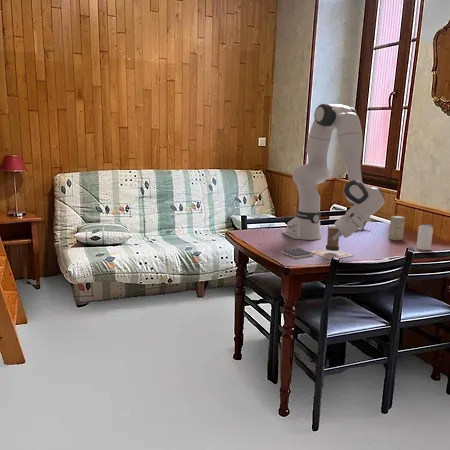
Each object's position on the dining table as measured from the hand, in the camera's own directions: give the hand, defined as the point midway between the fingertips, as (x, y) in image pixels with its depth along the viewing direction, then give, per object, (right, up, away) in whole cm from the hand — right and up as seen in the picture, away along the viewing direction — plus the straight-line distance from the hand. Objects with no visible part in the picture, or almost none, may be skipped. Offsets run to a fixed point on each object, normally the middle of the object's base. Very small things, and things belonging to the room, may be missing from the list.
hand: (331, 237), depth 218 cm
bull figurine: (+29, +3, +54) cm, 61 cm away
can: (+49, -6, +15) cm, 51 cm away
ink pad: (-16, -8, 0) cm, 18 cm away
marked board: (0, -8, +2) cm, 8 cm away
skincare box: (+42, -2, +33) cm, 53 cm away
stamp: (+1, -6, +1) cm, 6 cm away
